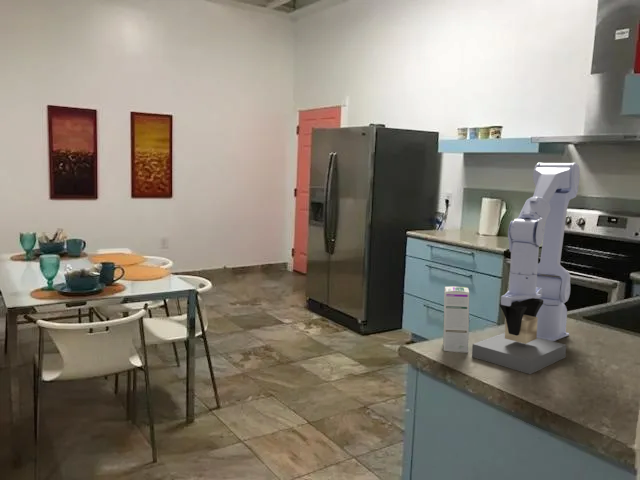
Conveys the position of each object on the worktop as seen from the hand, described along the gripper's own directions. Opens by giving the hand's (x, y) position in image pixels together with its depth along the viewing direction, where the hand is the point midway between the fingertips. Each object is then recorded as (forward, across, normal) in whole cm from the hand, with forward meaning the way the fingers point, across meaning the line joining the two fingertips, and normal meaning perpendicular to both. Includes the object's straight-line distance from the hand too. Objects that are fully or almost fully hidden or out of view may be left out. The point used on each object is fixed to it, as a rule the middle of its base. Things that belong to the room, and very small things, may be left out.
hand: (520, 331), depth 125 cm
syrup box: (+6, -6, +13) cm, 16 cm away
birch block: (+2, 0, 0) cm, 2 cm away
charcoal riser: (+6, 0, 0) cm, 6 cm away
